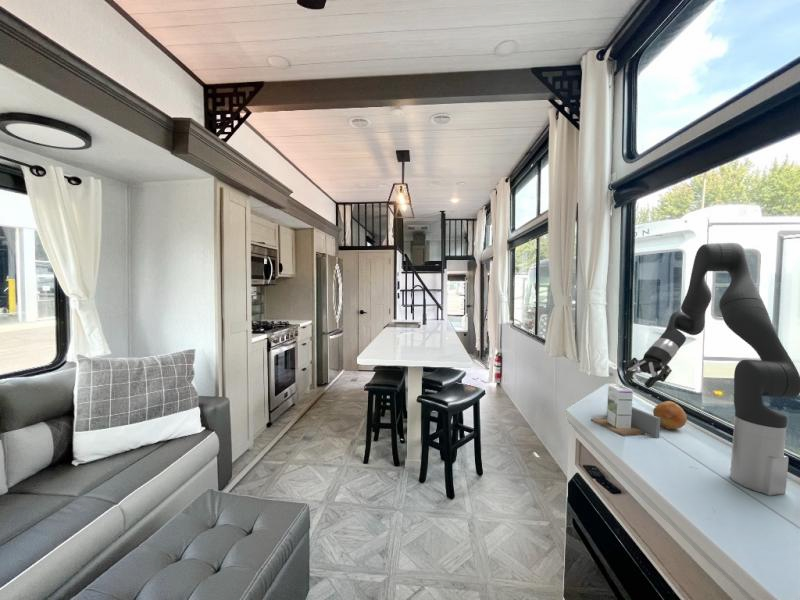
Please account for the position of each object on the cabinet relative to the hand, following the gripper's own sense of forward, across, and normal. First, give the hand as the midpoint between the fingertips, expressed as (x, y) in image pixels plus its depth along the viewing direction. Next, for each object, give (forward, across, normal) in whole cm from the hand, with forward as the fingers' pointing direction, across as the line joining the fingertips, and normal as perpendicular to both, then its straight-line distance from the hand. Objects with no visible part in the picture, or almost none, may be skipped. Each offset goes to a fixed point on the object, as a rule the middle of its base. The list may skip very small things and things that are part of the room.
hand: (635, 382), depth 123 cm
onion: (+3, +4, +21) cm, 21 cm away
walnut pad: (+17, 0, +6) cm, 18 cm away
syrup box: (+16, 0, +6) cm, 17 cm away
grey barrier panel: (+12, 0, +11) cm, 16 cm away
